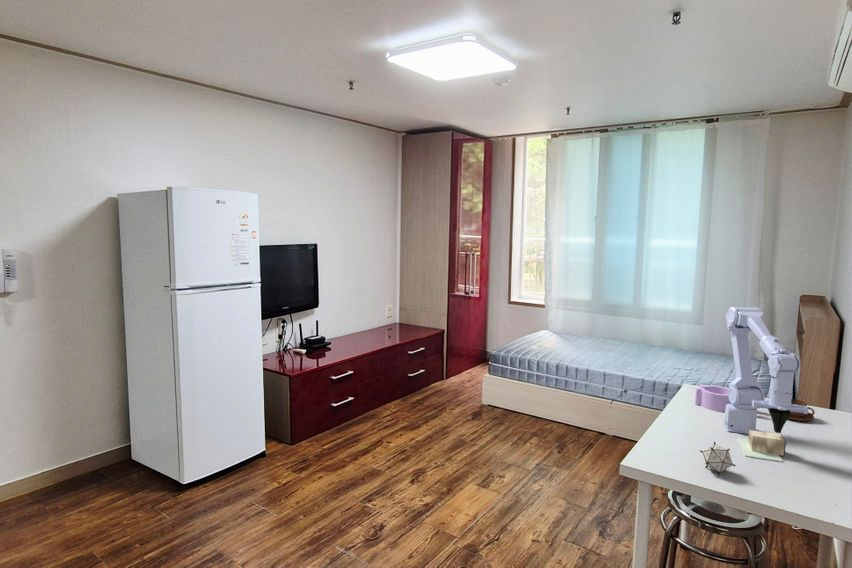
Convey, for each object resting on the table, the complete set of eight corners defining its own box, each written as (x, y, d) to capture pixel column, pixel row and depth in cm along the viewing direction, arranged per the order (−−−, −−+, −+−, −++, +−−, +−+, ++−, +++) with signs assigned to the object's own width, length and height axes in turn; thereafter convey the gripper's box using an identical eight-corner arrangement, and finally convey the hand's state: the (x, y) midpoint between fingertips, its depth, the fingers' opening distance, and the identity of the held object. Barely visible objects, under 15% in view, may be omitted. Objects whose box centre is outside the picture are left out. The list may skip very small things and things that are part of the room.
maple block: (784, 455, 157) (751, 450, 161) (780, 449, 162) (748, 444, 165) (786, 440, 157) (752, 436, 160) (781, 434, 161) (749, 430, 165)
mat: (745, 456, 157) (745, 455, 157) (736, 439, 170) (736, 438, 170) (782, 462, 154) (782, 460, 154) (770, 443, 167) (770, 442, 167)
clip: (755, 409, 198) (757, 393, 198) (751, 419, 189) (752, 401, 188) (699, 398, 211) (700, 382, 210) (692, 406, 202) (694, 390, 201)
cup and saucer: (810, 415, 193) (812, 400, 192) (815, 426, 182) (817, 409, 182) (773, 409, 199) (774, 394, 198) (776, 419, 188) (777, 403, 188)
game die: (710, 479, 151) (704, 445, 155) (741, 478, 145) (734, 443, 150) (699, 473, 145) (694, 439, 150) (731, 472, 140) (724, 436, 145)
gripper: (757, 391, 157) (753, 432, 158) (813, 397, 152) (808, 440, 153) (751, 385, 163) (748, 424, 165) (805, 390, 158) (801, 431, 160)
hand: (777, 431), depth 160 cm, fingers closed
